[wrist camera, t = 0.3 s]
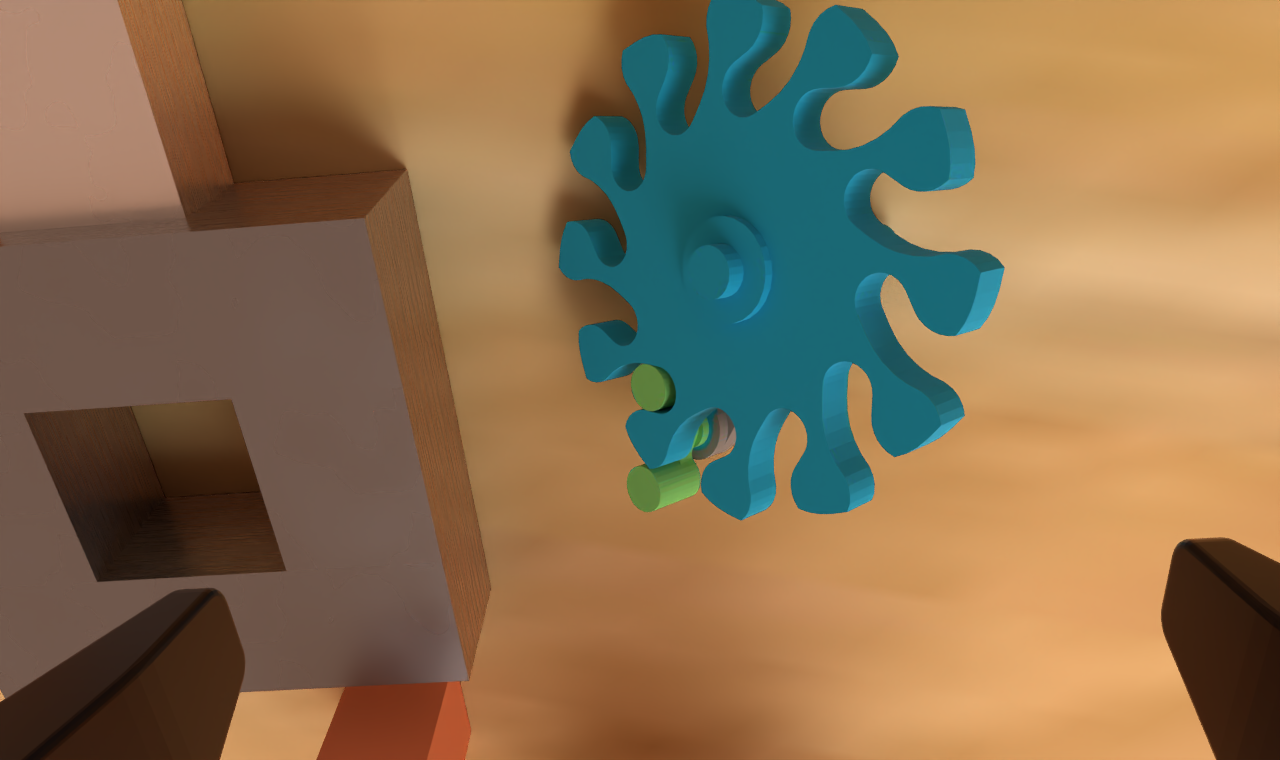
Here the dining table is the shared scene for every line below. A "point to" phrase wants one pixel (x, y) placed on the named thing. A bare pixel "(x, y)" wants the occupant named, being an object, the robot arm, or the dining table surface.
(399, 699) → the terracotta rectangular prism
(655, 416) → the gear
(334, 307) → the grey square hole block
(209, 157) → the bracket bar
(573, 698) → the dining table surface
